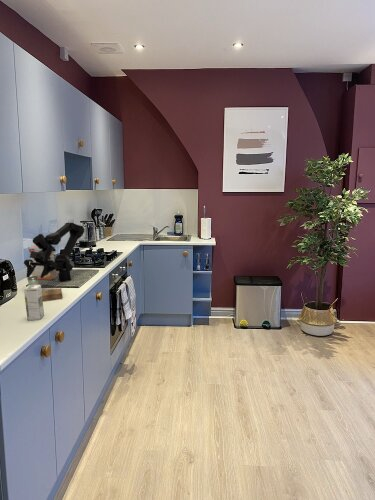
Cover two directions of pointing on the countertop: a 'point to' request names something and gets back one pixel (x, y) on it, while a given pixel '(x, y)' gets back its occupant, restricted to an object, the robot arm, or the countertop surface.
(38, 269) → the cracker box
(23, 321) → the countertop surface
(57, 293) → the walnut block
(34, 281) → the spice tin
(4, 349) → the countertop surface
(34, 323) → the countertop surface
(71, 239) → the robot arm
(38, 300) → the syrup box
